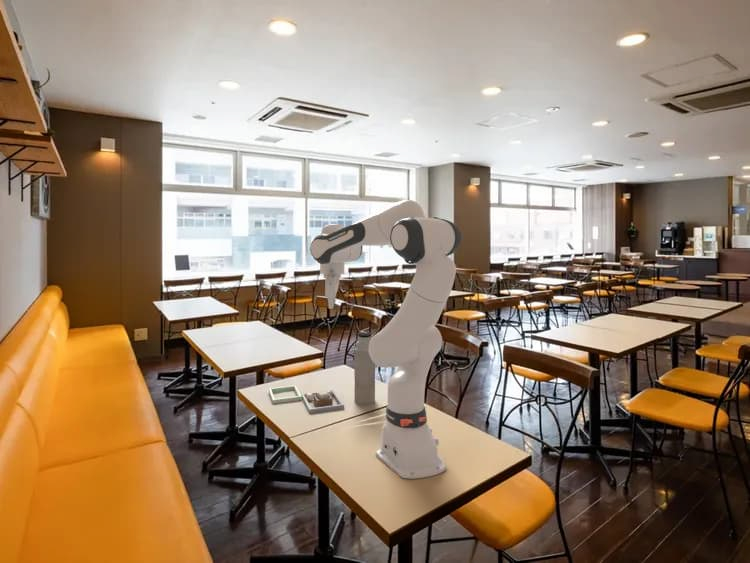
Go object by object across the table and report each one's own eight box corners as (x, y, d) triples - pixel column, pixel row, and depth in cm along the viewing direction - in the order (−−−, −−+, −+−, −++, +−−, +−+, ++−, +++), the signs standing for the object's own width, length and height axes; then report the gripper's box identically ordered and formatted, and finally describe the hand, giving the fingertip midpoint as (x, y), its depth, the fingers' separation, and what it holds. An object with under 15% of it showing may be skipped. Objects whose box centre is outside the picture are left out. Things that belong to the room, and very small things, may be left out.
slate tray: (344, 411, 166) (344, 404, 165) (309, 416, 161) (309, 409, 161) (333, 395, 180) (333, 390, 180) (301, 400, 176) (301, 394, 176)
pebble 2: (333, 399, 176) (333, 391, 175) (326, 400, 175) (326, 392, 174) (331, 396, 178) (331, 389, 178) (324, 397, 177) (324, 390, 177)
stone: (328, 404, 169) (328, 393, 168) (321, 406, 167) (321, 395, 167) (324, 401, 172) (324, 390, 171) (317, 403, 170) (317, 392, 169)
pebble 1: (314, 401, 173) (314, 394, 172) (306, 402, 172) (306, 395, 171) (312, 399, 176) (312, 391, 175) (305, 400, 175) (305, 392, 174)
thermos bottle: (375, 400, 176) (375, 331, 173) (374, 408, 168) (374, 336, 165) (355, 399, 177) (355, 331, 173) (353, 407, 169) (353, 336, 165)
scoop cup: (332, 407, 168) (332, 398, 167) (317, 409, 166) (316, 400, 165) (328, 401, 173) (328, 392, 173) (313, 403, 171) (313, 394, 171)
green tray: (301, 402, 174) (301, 396, 173) (272, 406, 170) (272, 400, 170) (295, 391, 186) (295, 385, 185) (269, 394, 182) (268, 388, 182)
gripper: (339, 272, 152) (339, 311, 154) (342, 265, 172) (341, 300, 174) (321, 272, 152) (320, 311, 153) (325, 265, 172) (325, 300, 174)
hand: (331, 305), depth 164 cm, fingers open, 8 cm apart
